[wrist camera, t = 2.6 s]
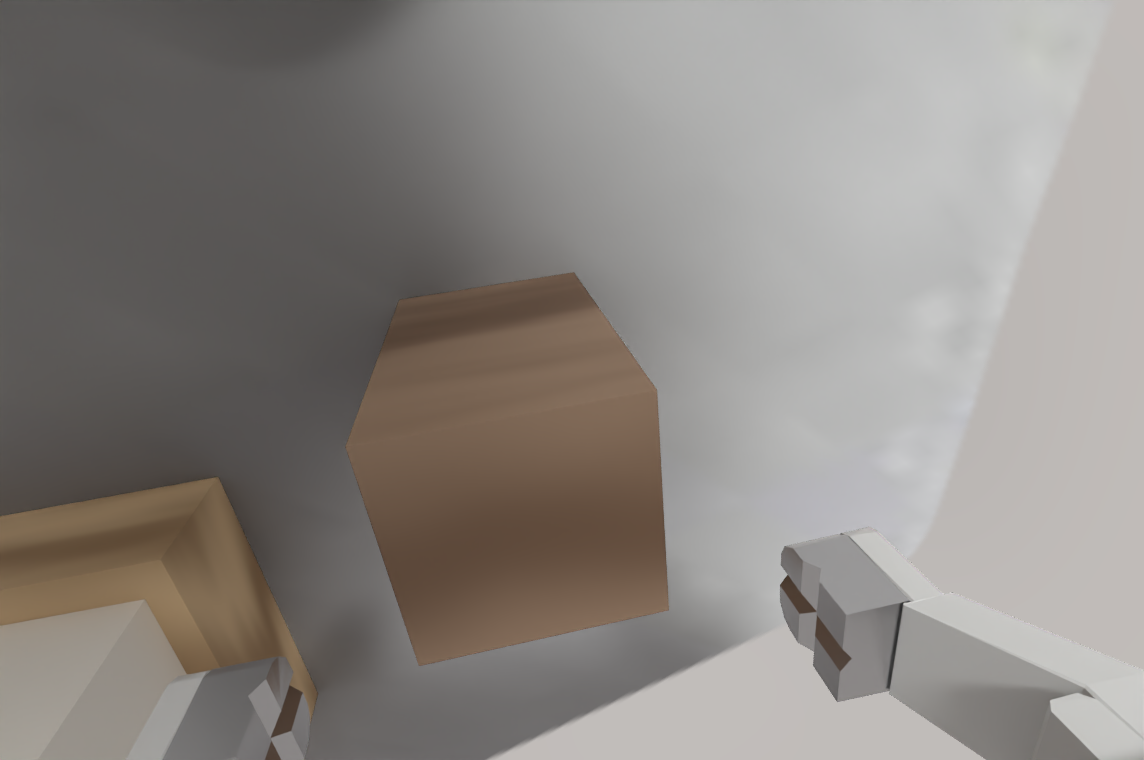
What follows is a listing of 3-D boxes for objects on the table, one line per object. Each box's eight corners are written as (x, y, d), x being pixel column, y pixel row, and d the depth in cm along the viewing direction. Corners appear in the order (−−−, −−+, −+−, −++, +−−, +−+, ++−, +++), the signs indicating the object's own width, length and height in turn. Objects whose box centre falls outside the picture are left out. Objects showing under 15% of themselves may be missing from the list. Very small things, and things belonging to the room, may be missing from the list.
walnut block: (399, 299, 16) (345, 447, 9) (573, 271, 16) (656, 389, 9) (437, 449, 18) (419, 666, 11) (590, 421, 19) (668, 610, 11)
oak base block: (-136, 534, 17) (-304, 648, 13) (223, 469, 18) (160, 559, 14) (40, 746, 21) (-49, 876, 17) (320, 685, 22) (291, 795, 18)
